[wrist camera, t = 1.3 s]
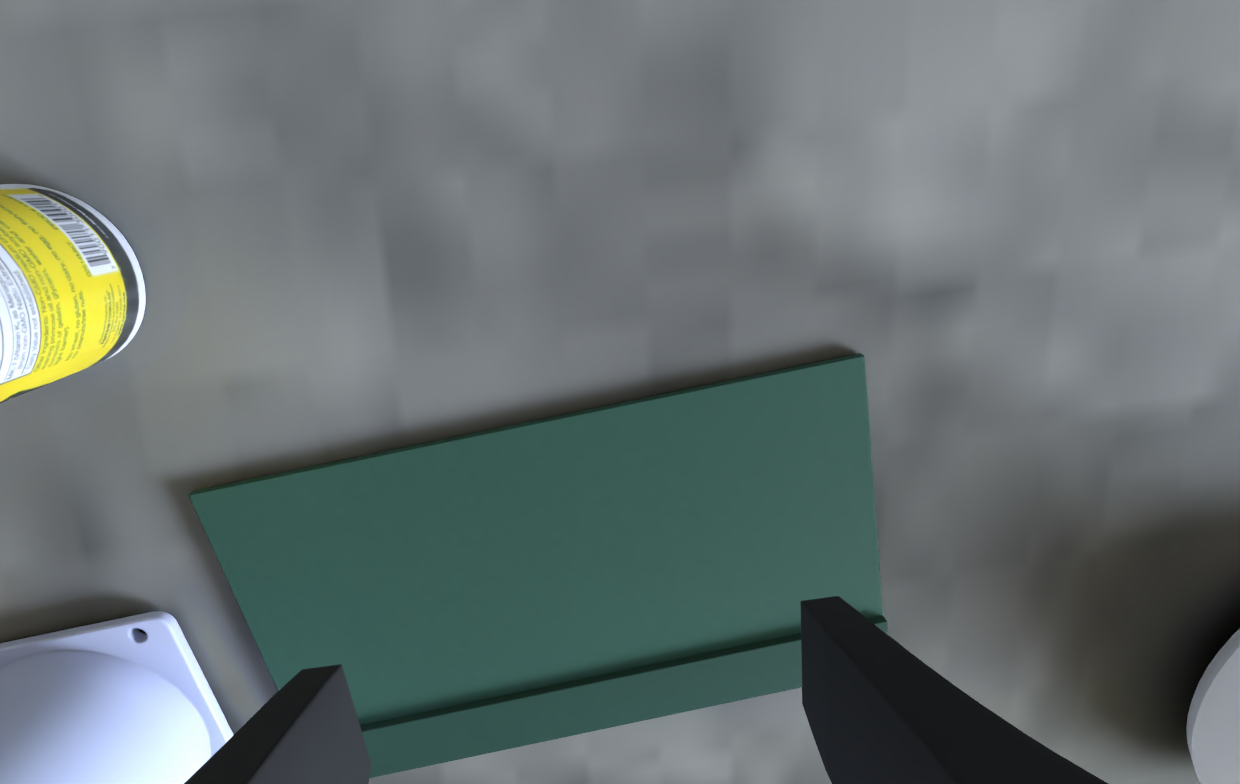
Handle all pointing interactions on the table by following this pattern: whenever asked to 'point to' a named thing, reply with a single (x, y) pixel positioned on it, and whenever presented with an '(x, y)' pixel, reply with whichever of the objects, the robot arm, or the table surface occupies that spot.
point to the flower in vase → (1217, 718)
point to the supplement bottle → (61, 288)
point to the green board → (563, 562)
